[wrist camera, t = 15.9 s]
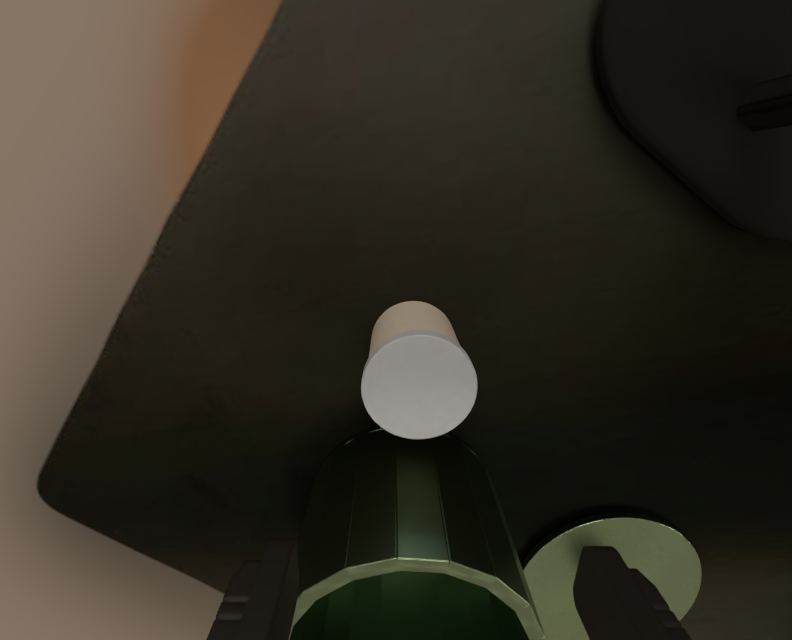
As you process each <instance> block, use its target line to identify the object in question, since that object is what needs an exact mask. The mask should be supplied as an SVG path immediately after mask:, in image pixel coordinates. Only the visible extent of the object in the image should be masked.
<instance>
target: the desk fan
mask: <svg viewBox="0 0 792 640" xmlns="http://www.w3.org/2000/svg"><path fill="white" fill-rule="evenodd" d="M596 59H597V65H598V71H599V76H600V79H601V83H602V86H603V89H604V92H605V95H606V97H607V99H608V101H609V104H610V106H611V108H612V109H613V111H614V113H615V114H616V116H617V118H618V119H619V121H620V122H621V123H622V125H623V126H624V127H625V129H626V130H627V131H628V132H629V133H630V134H631V135H632V136H633V137H634V138H635V139H636V140H637V141H638V142H639V143H640V144H641V145H642V146H643V147H644V148H645V149H647V150H648V151H649V152H650V153H651V154H652V155H653V156H654V157H655V158H657V159H658V160H659V161H660V162H661V163H662V164H663V165H664V166H666V167H667V168H668V169H669V170H670V171H671V172H672V173H673V174H674V175H676V176H677V177H678V178H679V179H680V180H681V181H682V182H683V183H685V184H686V185H687V186H688V187H689V188H690V189H691V190H692V191H694V192H695V193H696V194H697V195H698V196H699V197H700V198H701V199H702V200H704V201H705V202H706V203H707V204H708V205H709V206H710V207H711V208H713V209H714V210H715V211H716V212H717V213H718V214H719V215H721V216H722V217H723V218H724V219H726V220H727V221H728V222H730V223H731V224H733V225H735V226H737V227H738V228H740V229H742V230H745V231H747V232H750V233H752V234H755V235H759V236H763V237H768V238H776V239H783V240H792V0H602V3H601V7H600V10H599V16H598V21H597V27H596Z"/></svg>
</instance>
